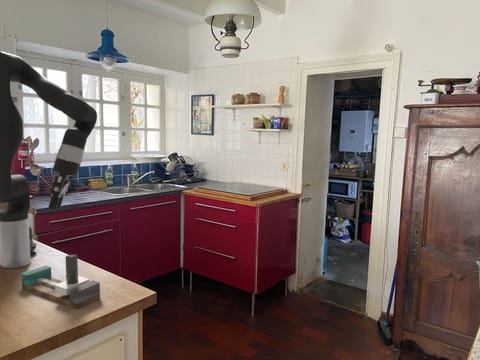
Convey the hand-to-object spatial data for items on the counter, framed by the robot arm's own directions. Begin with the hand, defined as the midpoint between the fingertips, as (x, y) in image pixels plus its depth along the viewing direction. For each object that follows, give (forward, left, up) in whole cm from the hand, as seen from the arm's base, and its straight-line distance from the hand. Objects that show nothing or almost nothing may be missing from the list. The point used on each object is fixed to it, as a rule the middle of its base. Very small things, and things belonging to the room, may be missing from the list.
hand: (54, 208), depth 117 cm
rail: (+9, -5, -25) cm, 27 cm away
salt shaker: (-33, +11, -25) cm, 43 cm away
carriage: (+15, -5, -22) cm, 27 cm away
